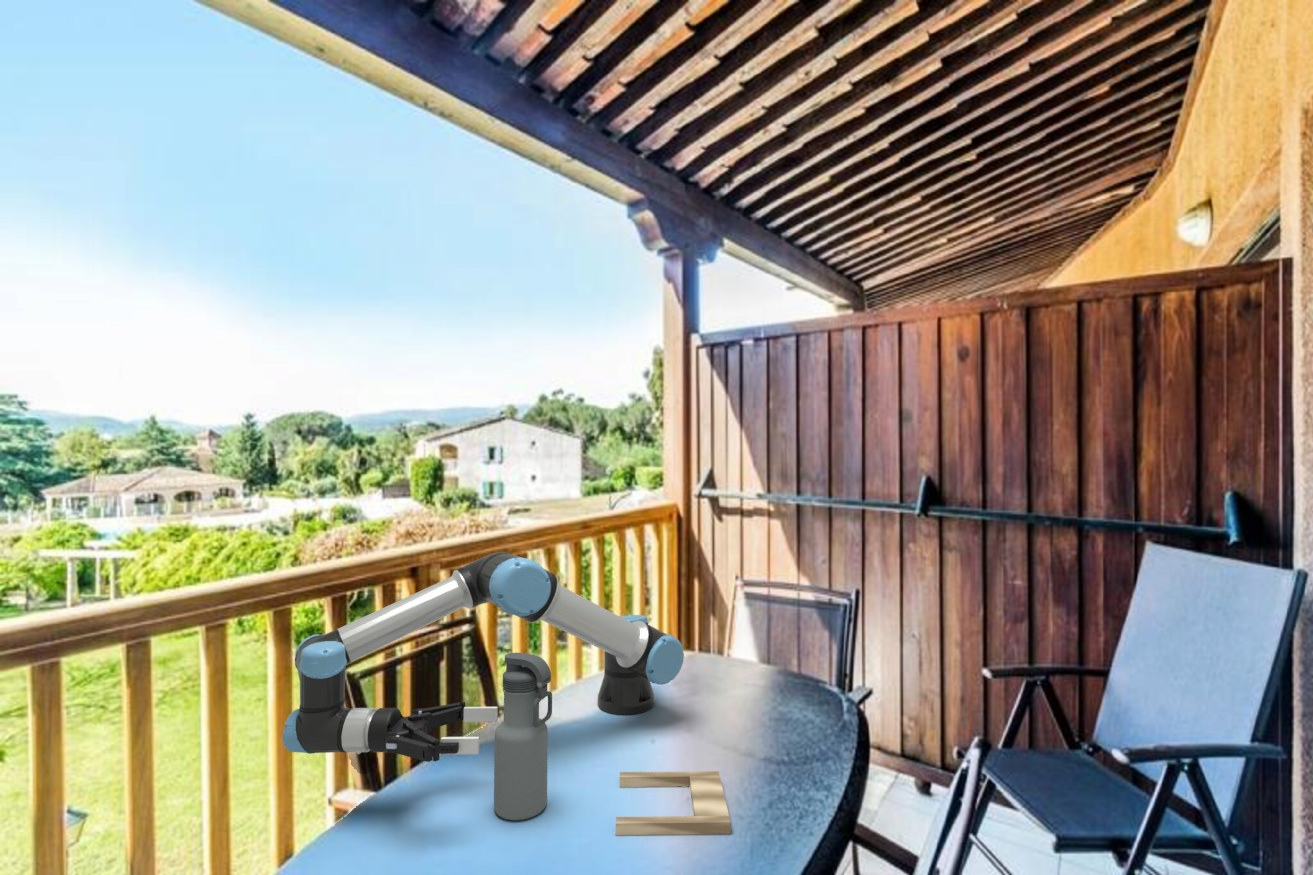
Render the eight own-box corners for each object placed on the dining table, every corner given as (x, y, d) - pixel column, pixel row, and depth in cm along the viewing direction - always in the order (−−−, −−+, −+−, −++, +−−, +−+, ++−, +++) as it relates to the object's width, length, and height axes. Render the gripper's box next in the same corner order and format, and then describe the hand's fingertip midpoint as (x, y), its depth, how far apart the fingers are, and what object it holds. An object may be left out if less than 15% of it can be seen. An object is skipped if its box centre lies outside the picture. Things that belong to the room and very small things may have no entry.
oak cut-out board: (619, 782, 126) (619, 772, 127) (718, 781, 127) (718, 771, 127) (615, 835, 108) (615, 823, 109) (730, 833, 109) (730, 822, 109)
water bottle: (558, 799, 120) (559, 651, 121) (532, 827, 111) (533, 667, 112) (512, 790, 123) (513, 646, 125) (483, 816, 114) (484, 661, 115)
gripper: (400, 722, 129) (503, 721, 129) (341, 784, 104) (469, 783, 105) (400, 685, 129) (503, 684, 130) (342, 739, 104) (469, 737, 105)
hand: (488, 728), depth 117 cm, fingers open, 13 cm apart
